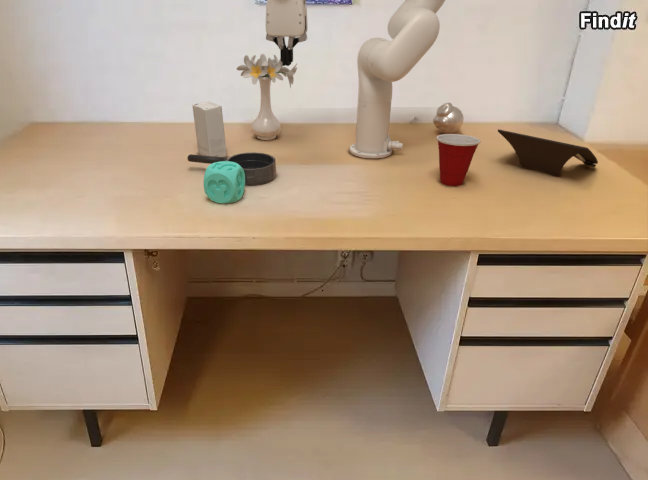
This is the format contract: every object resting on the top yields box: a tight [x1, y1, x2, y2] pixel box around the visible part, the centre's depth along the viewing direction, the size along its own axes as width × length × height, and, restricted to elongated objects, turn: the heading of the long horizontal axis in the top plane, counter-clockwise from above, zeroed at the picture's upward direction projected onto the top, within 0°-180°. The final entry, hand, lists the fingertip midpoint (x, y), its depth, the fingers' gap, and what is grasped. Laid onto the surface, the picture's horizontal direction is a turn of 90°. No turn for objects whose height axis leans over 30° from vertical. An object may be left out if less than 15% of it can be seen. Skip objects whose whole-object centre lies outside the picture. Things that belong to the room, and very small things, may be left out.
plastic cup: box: [435, 133, 482, 187], centre depth 142 cm, size 11×11×12 cm
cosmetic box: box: [191, 100, 228, 158], centre depth 160 cm, size 8×6×15 cm
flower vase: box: [236, 53, 298, 141], centre depth 172 cm, size 13×18×25 cm
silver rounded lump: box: [432, 102, 464, 135], centre depth 177 cm, size 9×10×10 cm
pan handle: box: [186, 154, 228, 165], centre depth 150 cm, size 12×2×2 cm, turn 74°
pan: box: [226, 151, 277, 186], centre depth 148 cm, size 13×13×4 cm
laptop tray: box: [497, 128, 599, 177], centre depth 151 cm, size 23×23×9 cm
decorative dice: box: [203, 161, 246, 204], centre depth 135 cm, size 8×8×8 cm
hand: (286, 64), depth 144 cm, fingers closed
